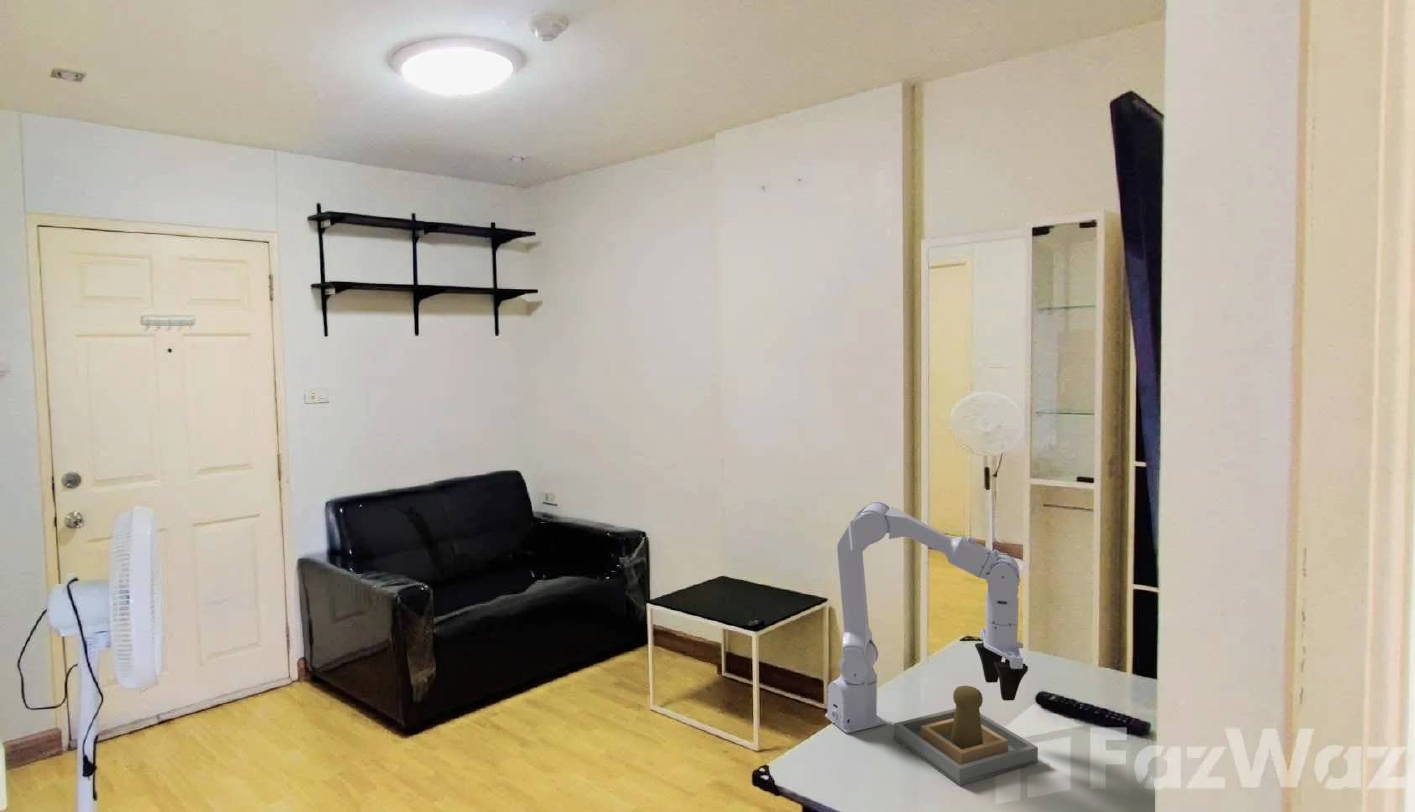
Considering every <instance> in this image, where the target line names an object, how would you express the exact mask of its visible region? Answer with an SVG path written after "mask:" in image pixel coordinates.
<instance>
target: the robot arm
mask: <svg viewBox="0 0 1415 812" xmlns="http://www.w3.org/2000/svg"><path fill="white" fill-rule="evenodd" d="M887 534H889V535H888V539H889V540H892V539H898V538H904V537H906V538H908V539H911V540H913V541H916V542H918V543H920V544H922V545H924V546H927V547H928V548H930V549H934V550H936V551H938V552H940V553H943V554H944V555H945V557H946V558H947V562H948V564H951V565H953V566H955V567H957V568H959V570H962V571H965V572H966V573H968V574H970V575H973V576H974V577H977V578H978V579H983V580H985V582H986V583H987V593H986V594H985V622H984V623H985V624H984V625H985V628H983V629H982V628H980V640H981V641H982V642H977V643H974V646H975V649H976V651H977V654H978V656H979V659H980V662H981V666H982V672H983V676H984V680H985V682H986V683H988V684H989V683H993V684H995V683H998V681H999V689H1000V691H999V692H1000V697H1001V699H1002V700H1003V701H1008V702H1009V701H1015V699H1016V696H1017V693H1018V689H1019V686H1020V684H1021V681H1022V679H1023V678H1024V676H1025V675H1026V674H1027V672H1028V671H1029V666H1028V665H1026V663H1024V658H1023V657H1022V655H1021V652H1020V649H1023V648H1024V643H1023V642H1021V641H1019V640H1018V632H1019V631H1018V629H1019V628H1018V627H1019V626H1018V625H1019V600H1020V599H1019V586H1020V584H1021V578H1020V566H1019V565H1018V562H1017V561H1016V560H1015V558H1013V557H1012V556H1010V554H1008V553H1007V552H1000V551H999V550H997V549H996V548H995V549H993V550H992V549H989V548H987V547H985V546H983V545H982V544H980V543H978V542H976V538H974V537H973V536H970V535H969V536H967V537H965V536H963V535H962V536H957V537H950V536H948V535H947V534H945V533H943V532H941V531H939V530H937V529H936V528H934V527H931V526H930V525H928V524H926V523H925V522H922V521H921V520H919V519H917V518H915V517H913V516H911V515H909V514H908V513H906V512H904V511H902V510H900V509H899V508H897V507H894V506H889V505H887V504H886V503H884V502H882V501H873V502H869V503H868V504H866V505H865V506H864V507H863V508H862V509H860V510H859V511H858V512H857V513H856V515H855V516H854V517H853V518H852V519H850V521H849V523H848V525H847V527H846V528H845V530H844V532H843V533H842V535H841V537H840V538H839V540H838V542H837V545H836V551H837V562H838V564H837V565H838V573H839V585H840V597H841V598H840V599H841V608H842V620H843V631H844V632H843V640H842V655H841V657H840V660H839V664H838V667H839V668H838V669H839V672H840V675H839V677H838V678H836V679H835V680H832V681H830V682H829V684H828V686H827V693H826V694H827V698H826V699H827V702H826V704H827V705H826V706H827V710H826V713H825V715H824V717H825V718H827V719H828V720H829V721H830V722H832V723H833V724H834V723H835V724H834V725H835V726H837V728H839V729H840V730H842V731H843V732H844V733H846V734H849V733H854V732H858V731H862V730H863V731H864V730H866V729H870V728H874V727H875V728H876V727H879V726H883V725H886V720H885V719H883V718H882V717H880V716H878V715H877V706H878V705H877V702H878V701H877V700H878V697H877V695H878V674H877V673H876V671H875V670H874V669H875V668H874V665H875V663H876V661H877V660H878V657H879V650H878V647H877V645H876V644H875V642H874V641H873V633H872V630H871V628H870V626H869V615H868V613H869V612H868V602H867V600H868V599H867V590H866V578H865V567H864V555H863V554H864V553H863V552H864V551H865V550H866V549H867V548H869V546H871V545H873V544H876V543H878V542H880V541H881V540H882V539H883V538H885V537H886V535H887ZM1003 658H1004V661H1002V660H1003Z"/></svg>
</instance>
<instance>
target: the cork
mask: <svg viewBox="0 0 1415 812" xmlns="http://www.w3.org/2000/svg"><path fill="white" fill-rule="evenodd" d="M952 696H953V698H952V699H953V702H954V704H955V708H954V709H955V715H954V721H953V727H952V733H951V740H950V742H951V743H953V744H954V745H956V746H957V747H959V748H960V749H962V750H963V749H966V748H970V747H974V746H978V745H981V744H983V737H982V728H981V719H980V713H981V712H980V708H981V707H982V705H983V702H984V701H983V699H984V697H983V695H982V693H981V691H980V690H979V689H978V688H976V687H974V686H970V685H961V686H960V685H959V686H957V687H956V688H955V690H954V691H953V695H952Z"/></svg>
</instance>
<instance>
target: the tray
mask: <svg viewBox="0 0 1415 812" xmlns="http://www.w3.org/2000/svg"><path fill="white" fill-rule="evenodd" d="M955 709H956V708H953V709H948V710H944V711H940V712H935V713H932V714H927V715H923V716H919V717H914V718H911V719H906V720H903V721H898V722H894V725H893V739H894V740H896V741H897V742H898V743H900V744H901V745H903V746H904V747H905V748H906V749H908V750H910V751H911V752H912V753H913V754H915V755H916V756H917V757H919V758H921V760H923V761H924V762H926V763H927V764H929V765H930V766H931V767H933V768H934V769H935V770H937V771H938V772H939V773H941V774H942V775H943V776H945V777H946V778H947V779H949V780H950V781H952V782H953V783H955V785H957V786H958V787H961V786H965V785H968V784H971V783H975V782H977V781H981V780H985V779H989V778H991V777H995V776H998V775H1001V774H1006V773H1009V772H1012V771H1016V770H1019V769H1022V768H1026V767H1030V766H1033V765H1036V764H1038V760H1039V759H1038V756H1039V755H1038V753H1039V747H1038V746H1036V745H1035V744H1033V743H1032V742H1030V741H1028V740H1027V739H1025V738H1023V737H1021V736H1020V735H1018V734H1017V733H1014V732H1013V731H1011V730H1009V729H1008V728H1006V727H1005V726H1003V725H1000V723H997V722H996V721H994V720H993V719H991V718H989V717H988V716H986V715H984V714H982V713H981V712H980V719H981V728H982V737H983V744H981V745H978V746H974V747H970V748H966V749H963V750H962V749H960V748H959V747H957V746H956V745H954V744H953V743H951V742H950V740H951V733H952V727H953V721H954V715H955Z"/></svg>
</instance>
